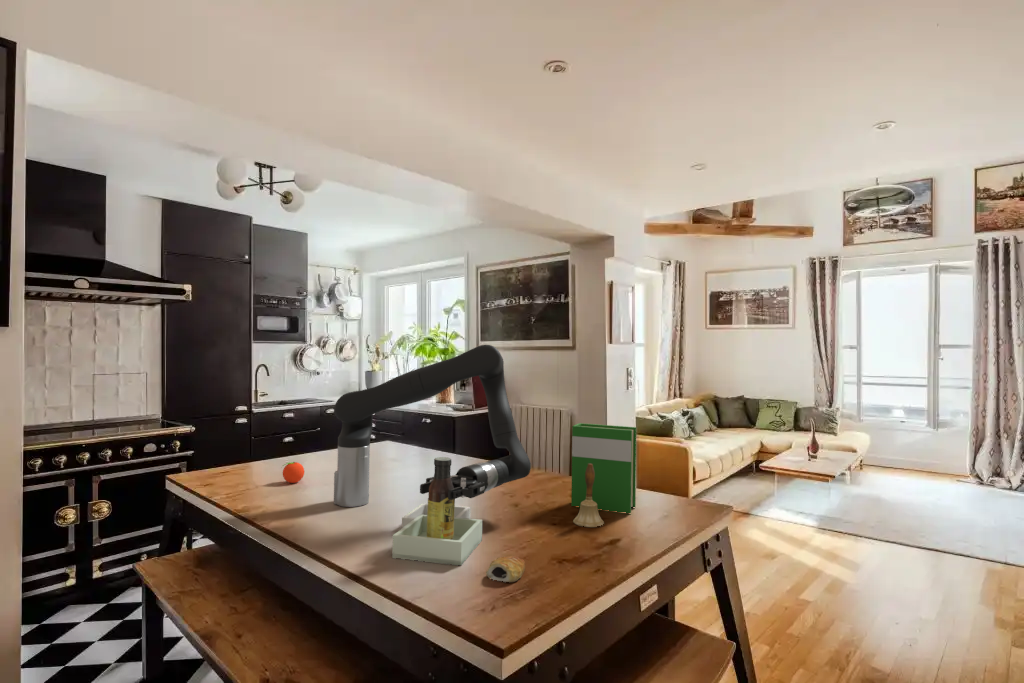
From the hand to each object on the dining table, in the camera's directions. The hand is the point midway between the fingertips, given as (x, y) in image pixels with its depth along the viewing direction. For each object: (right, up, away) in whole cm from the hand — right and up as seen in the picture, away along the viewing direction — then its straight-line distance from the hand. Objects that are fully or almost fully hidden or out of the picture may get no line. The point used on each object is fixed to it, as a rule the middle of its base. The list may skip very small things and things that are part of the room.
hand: (434, 492), depth 124 cm
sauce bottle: (+1, -13, +2) cm, 13 cm away
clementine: (-57, -14, +60) cm, 84 cm away
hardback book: (+45, -15, +37) cm, 60 cm away
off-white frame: (-2, -14, +19) cm, 24 cm away
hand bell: (+39, -15, +22) cm, 47 cm away
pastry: (+17, -14, -12) cm, 25 cm away
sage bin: (+1, -14, +1) cm, 14 cm away
